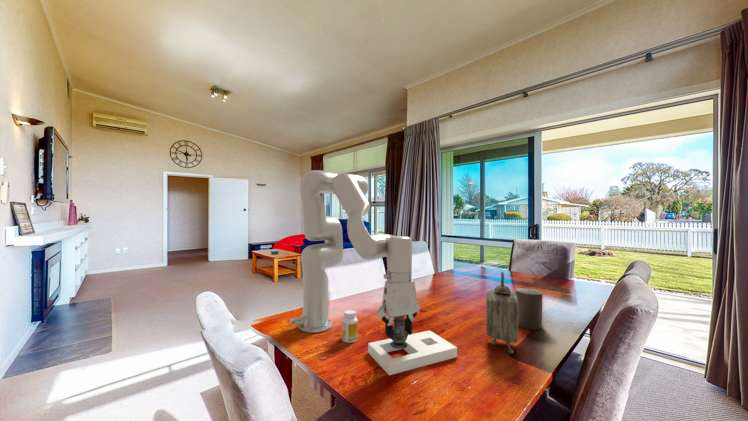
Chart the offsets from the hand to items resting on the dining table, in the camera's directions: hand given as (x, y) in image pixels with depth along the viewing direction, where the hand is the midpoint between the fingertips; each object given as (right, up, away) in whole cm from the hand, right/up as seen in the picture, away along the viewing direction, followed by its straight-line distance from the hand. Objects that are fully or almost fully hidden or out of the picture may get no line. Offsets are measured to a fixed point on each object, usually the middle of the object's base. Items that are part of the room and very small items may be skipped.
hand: (398, 334), depth 90 cm
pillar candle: (+54, -8, +28) cm, 61 cm away
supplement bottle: (-16, -7, +12) cm, 22 cm away
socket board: (+4, -7, +2) cm, 9 cm away
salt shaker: (0, -3, 0) cm, 3 cm away
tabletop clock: (+35, -8, +9) cm, 37 cm away
